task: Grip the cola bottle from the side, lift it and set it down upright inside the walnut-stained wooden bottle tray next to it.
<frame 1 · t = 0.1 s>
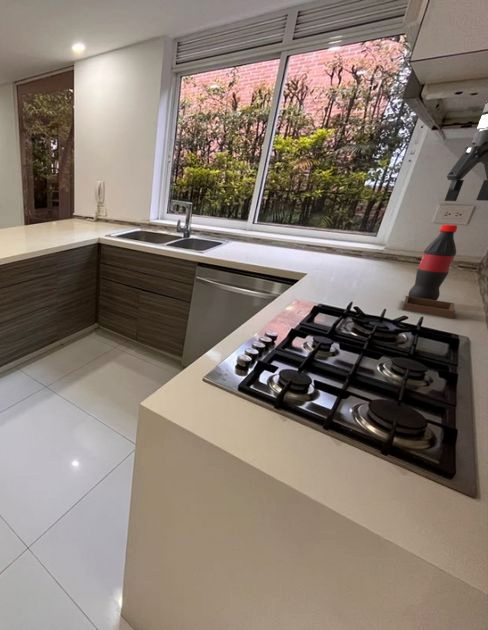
hand: (466, 200, 114), 39 cm above the counter, tool pointing down, fingers open, 13 cm apart
bottle tray: (425, 312, 124), on the counter
cola bottle: (420, 302, 135), on the counter
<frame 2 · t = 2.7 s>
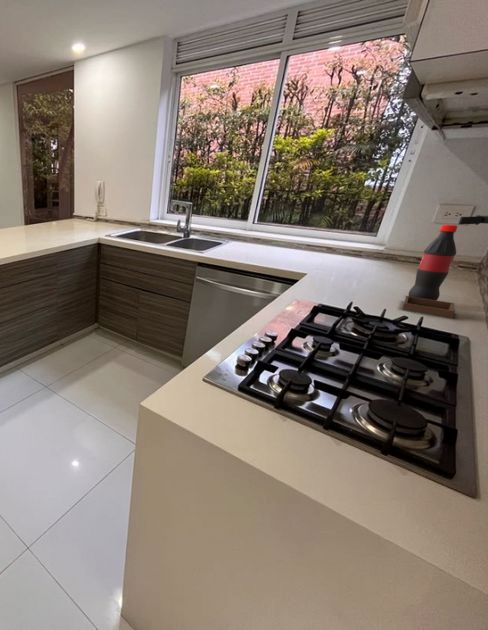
hand: (478, 223, 122), 31 cm above the counter, tool horizontal, fingers open, 13 cm apart
nothing on the counter moved.
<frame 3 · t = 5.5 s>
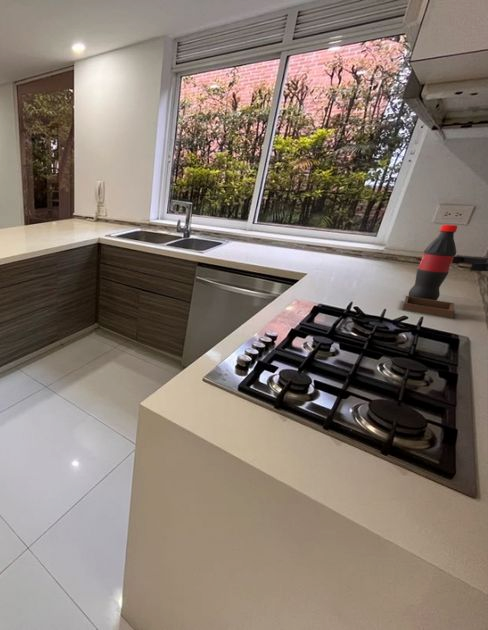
hand: (455, 263, 128), 16 cm above the counter, tool horizontal, fingers open, 13 cm apart
nothing on the counter moved.
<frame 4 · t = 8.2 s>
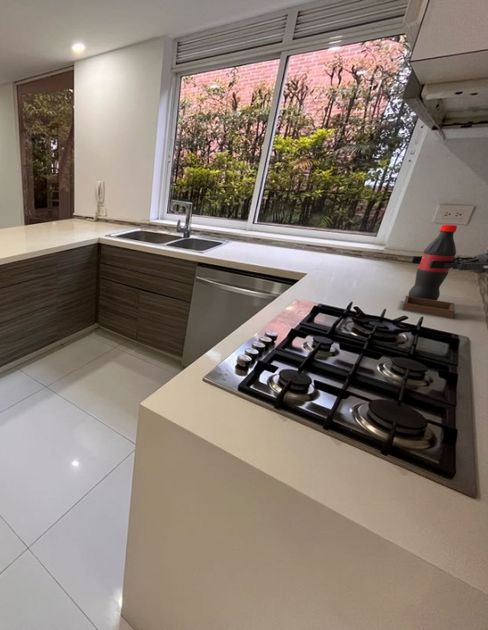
hand: (421, 261, 130), 16 cm above the counter, tool horizontal, fingers closed on cola bottle, 8 cm apart
cola bottle: (420, 302, 135), on the counter, touching gripper
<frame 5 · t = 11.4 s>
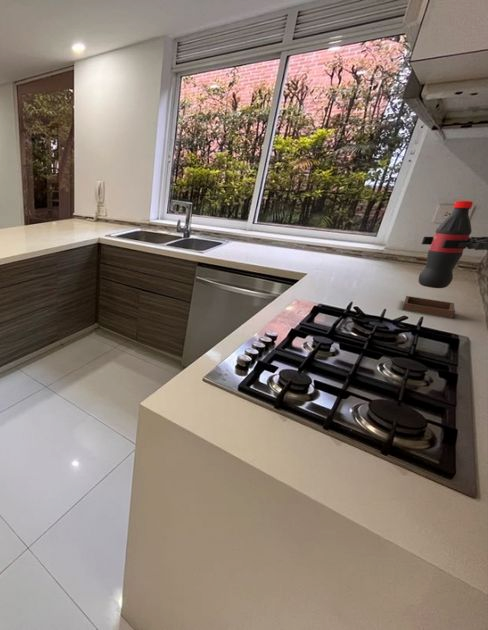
hand: (433, 242, 120), 25 cm above the counter, tool horizontal, fingers closed on cola bottle, 8 cm apart
cola bottle: (431, 286, 125), point 9 cm above the counter, touching gripper
when the fingers open (17 cm above the counter, at t = 14.9 s): cola bottle stays where it is, resting on bottle tray.
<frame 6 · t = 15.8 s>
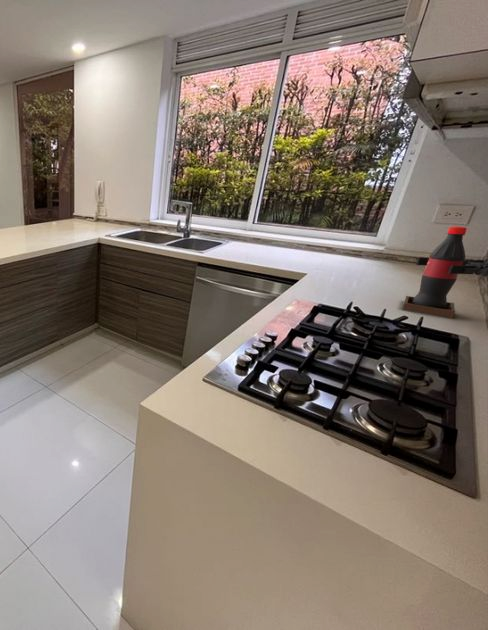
hand: (433, 265, 118), 18 cm above the counter, tool horizontal, fingers open, 13 cm apart
cola bottle: (425, 311, 124), resting on bottle tray
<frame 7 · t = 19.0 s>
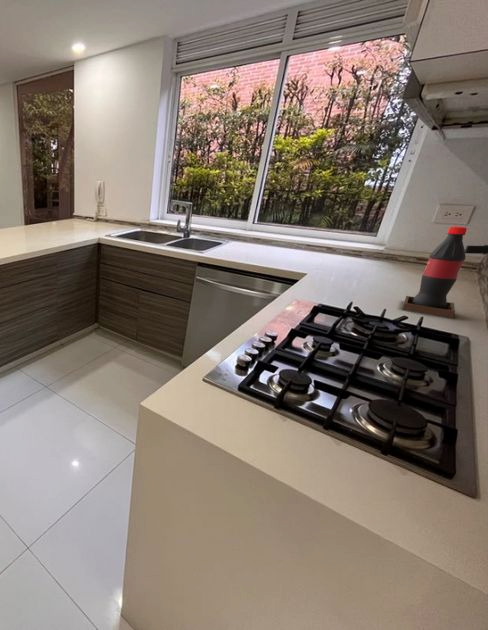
hand: (484, 252, 115), 22 cm above the counter, tool horizontal, fingers open, 13 cm apart
nothing on the counter moved.
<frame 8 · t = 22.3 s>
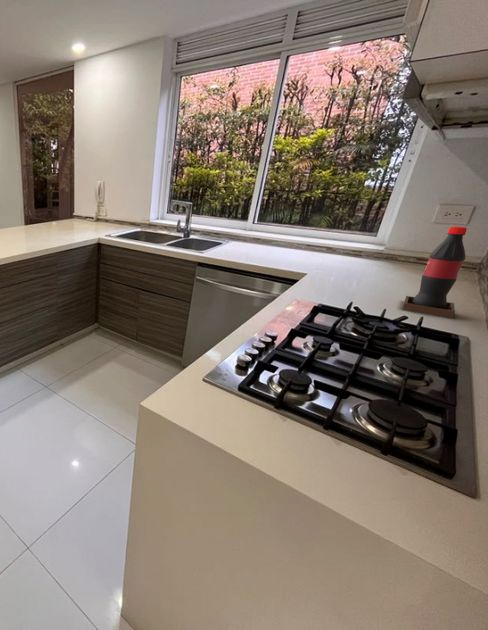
nothing on the counter moved.
at the end: cola bottle 0.1 cm off-centre in the bottle tray, point 0.4 cm above the bottle tray's base; cola bottle tilted 0°; the gripper is holding nothing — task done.
